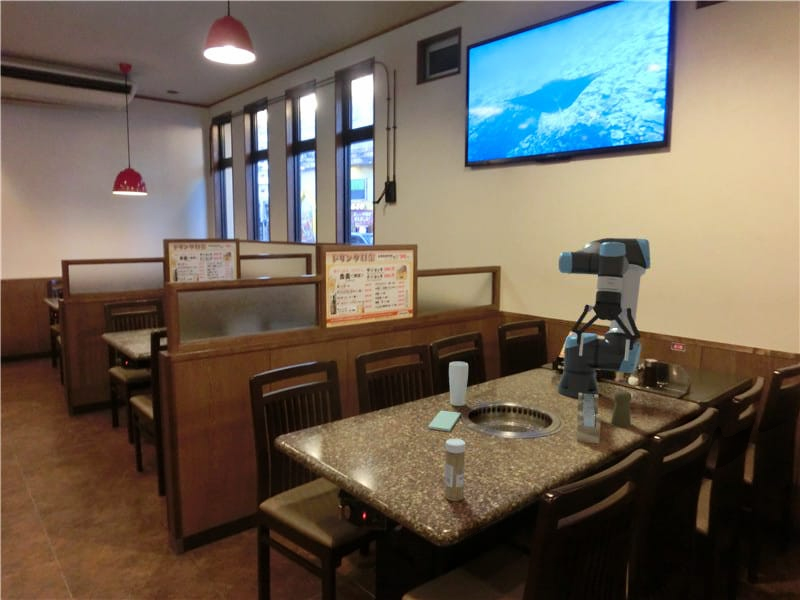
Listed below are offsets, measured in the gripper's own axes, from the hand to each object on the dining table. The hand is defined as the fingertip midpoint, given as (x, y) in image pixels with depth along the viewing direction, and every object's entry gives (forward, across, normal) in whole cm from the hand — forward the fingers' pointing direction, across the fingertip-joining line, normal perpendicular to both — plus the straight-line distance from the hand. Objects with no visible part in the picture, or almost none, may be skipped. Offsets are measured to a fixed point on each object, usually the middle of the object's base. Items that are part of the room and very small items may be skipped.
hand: (603, 358), depth 168 cm
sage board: (+26, -47, -8) cm, 54 cm away
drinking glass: (+23, -47, +10) cm, 53 cm away
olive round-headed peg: (+21, +8, +8) cm, 24 cm away
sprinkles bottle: (+33, -34, -56) cm, 74 cm away
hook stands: (+23, -3, 0) cm, 23 cm away
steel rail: (+18, -3, -1) cm, 18 cm away
